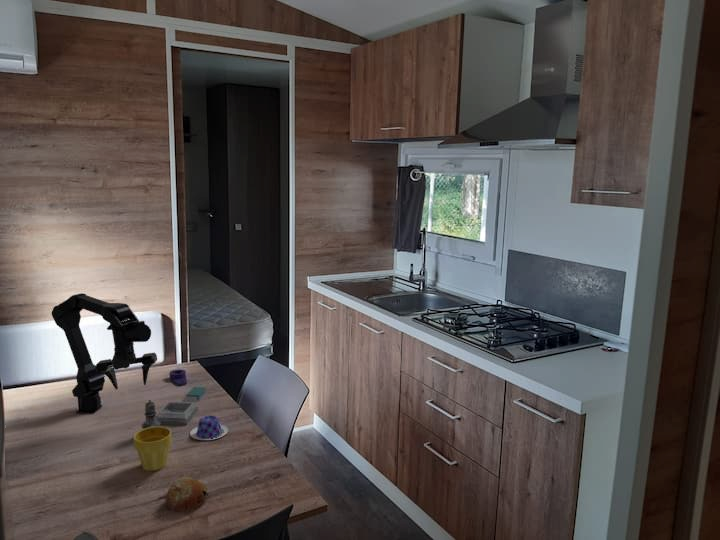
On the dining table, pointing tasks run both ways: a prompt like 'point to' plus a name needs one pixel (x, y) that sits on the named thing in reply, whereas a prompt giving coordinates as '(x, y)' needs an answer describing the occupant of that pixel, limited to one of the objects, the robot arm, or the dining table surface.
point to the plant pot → (153, 446)
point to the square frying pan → (181, 408)
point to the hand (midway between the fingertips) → (130, 386)
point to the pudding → (208, 428)
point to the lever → (178, 377)
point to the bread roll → (186, 494)
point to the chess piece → (150, 416)
